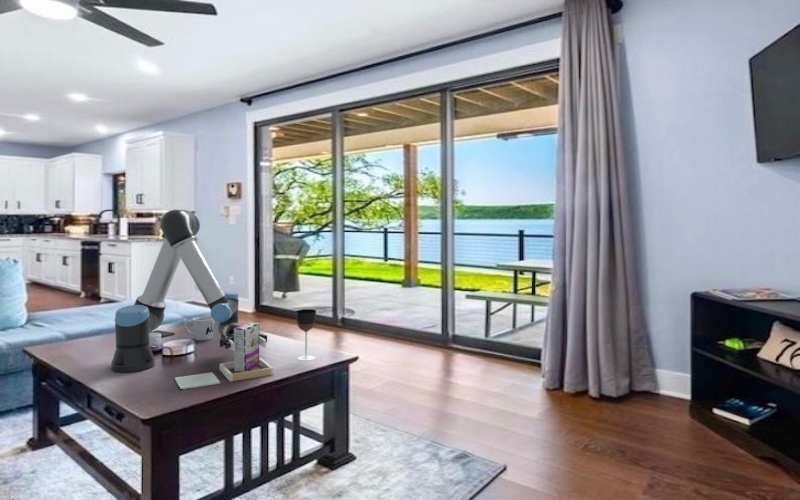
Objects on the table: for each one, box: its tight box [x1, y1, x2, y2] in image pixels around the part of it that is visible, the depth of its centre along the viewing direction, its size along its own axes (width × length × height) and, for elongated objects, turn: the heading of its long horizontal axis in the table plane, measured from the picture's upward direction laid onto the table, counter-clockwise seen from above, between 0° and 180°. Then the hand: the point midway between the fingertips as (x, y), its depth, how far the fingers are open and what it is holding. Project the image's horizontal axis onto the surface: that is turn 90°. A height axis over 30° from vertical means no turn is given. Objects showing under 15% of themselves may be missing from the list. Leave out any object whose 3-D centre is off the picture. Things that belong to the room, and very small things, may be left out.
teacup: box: [149, 333, 162, 348], centre depth 227 cm, size 10×8×5 cm
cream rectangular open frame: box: [219, 357, 275, 382], centre depth 191 cm, size 16×16×2 cm
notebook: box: [149, 329, 176, 339], centre depth 243 cm, size 13×2×21 cm
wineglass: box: [295, 308, 317, 361], centre depth 210 cm, size 8×9×20 cm
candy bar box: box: [233, 322, 260, 373], centre depth 190 cm, size 11×5×16 cm, turn 168°
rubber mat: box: [174, 371, 221, 390], centre depth 179 cm, size 13×13×1 cm
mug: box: [183, 315, 216, 341], centre depth 243 cm, size 10×15×10 cm
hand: (249, 345), depth 187 cm, fingers closed on candy bar box, 11 cm apart
